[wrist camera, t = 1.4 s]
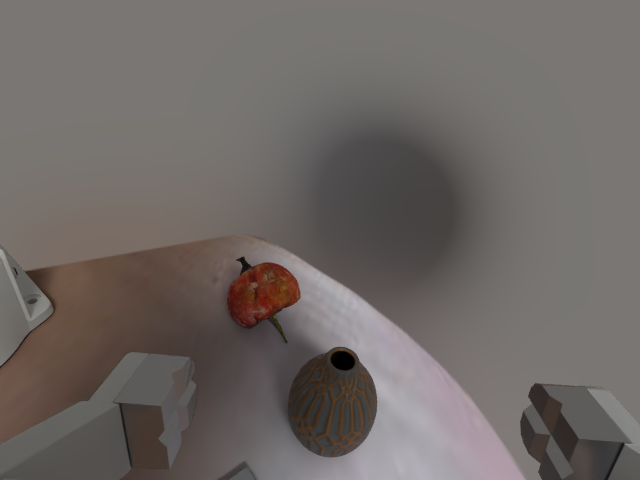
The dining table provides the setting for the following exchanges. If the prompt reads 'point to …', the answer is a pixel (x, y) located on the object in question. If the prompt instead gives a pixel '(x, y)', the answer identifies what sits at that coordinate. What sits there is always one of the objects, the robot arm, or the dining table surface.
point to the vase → (332, 403)
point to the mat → (243, 475)
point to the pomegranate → (261, 293)
